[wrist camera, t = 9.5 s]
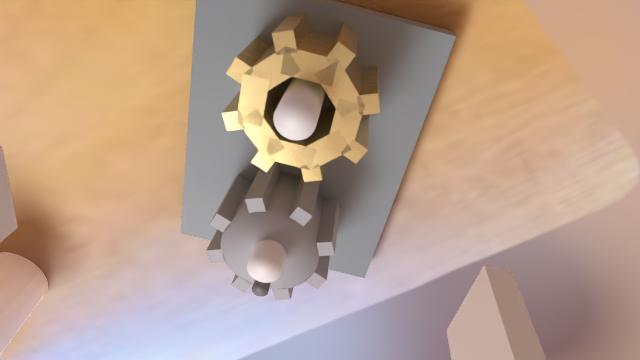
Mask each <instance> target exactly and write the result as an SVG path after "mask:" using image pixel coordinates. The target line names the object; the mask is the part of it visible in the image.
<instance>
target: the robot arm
mask: <svg viewBox="0 0 640 360" xmlns="http://www.w3.org/2000/svg"><path fill="white" fill-rule="evenodd" d="M17 228H18V225H17V220H16V215H15V210H14V204H13V199H12V194H11V189H10V184H9V179H8V174H7V169H6V164H5V159H4V154H3V149H2V147H1V146H0V243H1V242H2V241H3V240H4V239H5V238H6V237H8V236H9V235H10V234H11V233H12V232H13V231H15V230H16V229H17ZM447 336H448V342H449V347H450V353H451V358H452V360H546V358H545V355H544V353H543V350H542V348H541V345H540V342H539V340H538V337H537V335H536V332H535V330H534V327H533V324H532V322H531V319H530V317H529V314H528V312H527V309H526V306H525V304H524V301H523V299H522V296H521V294H520V291H519V289H518V286H517V284H516V281H515V278H514V276H513V273H512V272H511V271H508V270H504V269H500V268H496V267H492V266H487V265H484V266H483V268H482V270H481V272H480V273H479V275H478V277H477V278H476V280H475V282H474V284H473V285H472V287H471V289H470V291H469V292H468V294H467V296H466V298H465V299H464V301H463V303H462V305H461V306H460V308H459V310H458V312H457V313H456V315H455V317H454V319H453V320H452V322H451V324H450V326H449V327H448V329H447Z"/></svg>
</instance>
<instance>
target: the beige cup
mask: <svg viewBox="0 0 640 360" xmlns="http://www.w3.org/2000/svg"><path fill="white" fill-rule="evenodd" d="M47 290H48V281H47V278H46V276H45V275H44V273H43V272H42V270H41V269H40V268H39V267H37V266H36V265H35V264H34V263H33V262H32V261H30V260H28V259H26V258H24V257H22V256H20V255H18V254H14V253H10V252H0V356H1V354H2V353H3V352H4V350H5V349H6V347H7V346H8V345H9V343H10V342H11V341H12V339H13V338H14V336H15V335H16V334H17V332H18V331H19V330H20V328H21V327H22V325H23V324H24V323H25V321H26V320H27V319H28V317H29V316H30V315H31V313H32V312H33V310H34V309H35V308H36V306H37V305H38V304H39V302H40V301H41V299H42V298H43V297H44V295H45V294H46V292H47Z"/></svg>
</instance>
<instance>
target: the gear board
mask: <svg viewBox="0 0 640 360" xmlns="http://www.w3.org/2000/svg"><path fill="white" fill-rule="evenodd" d="M304 12H307V16H308V21H309V27H310V29H313V30H317V31H321V32H325V33H328V34H332V35H335V34H336V33H337V31H338V30H339V29H340V27H341V26H342V24H343V23H344V22H345V23H346V24H348V25H349V26H350V27H352V28H353V29H354V30H355V31H357V32H358V33H359V38H358V45H357V52H356V56H355V57H356V59H357V60H358V62H359V64H360V65H361V67H362V68H367V67H375V66H377V67H378V76H379V92H380V113H377V114H368V116H369V139H368V151H367V152H366V153H365V154H364V155H363V157H362V158H361V159H360V160H359V161H358V162H357V163H354V162H353V161H351V160H350V159H348V158H347V157H345V156H344V155H341V156H339V157H337V158H335V159H333V160H331V161H329V162H327V163H326V165H325V170H324V174H323V179H322V180H320V181H309V182H304V180H303V175H302V170H301V168H299V167H295V166H291V165H287V164H283V163H279V162H274V164H273V165H272V166H271V168H270V169H269V170H268V171H267V172H265V171H264V170H262V169H260V168H259V167H257V166H256V165H254V164H253V163H251V161H252V159H253V157H254V155H255V153H256V151H257V147H256V146H255V145H254V143H253V142H252V141H251V139H250V138H249V137H248V135H247V134H246V133H245V131H244V130H243V129H241V130H233V131H227V129H226V126H225V123H224V119H223V116H222V112H223V111H224V109H225V108H226V107H227V106H228V104H229V103H230V102H231V101H232V99H233V98H234V97H235V96H236V95H237V93H238V92H239V91H240V90H241V84H240V83H239V82H237V81H236V80H234V79H233V78H231V77H230V76H229V75H227V74H226V73H227V71H228V69H229V68H230V66H231V64H232V63H233V61H234V59H235V58H236V56H237V55H238V54H240V53H241V52H242V51H243V50H244V49H245V48H246V47H247V46H248V45H249V44H250V43H251V42H252V41H253V40H254V39H255V38H256V37H257V36H258V35H259V36H260V37H261V38H263V39H264V40H265V41H267V42H268V43H270V44H271V45H272V44H273V43H274V42H273V37H272V32H273V31H274V30H275V29H276V28H277V27H278V26H279V25H280V24H281V23H282V22H283V21H284V20H285V19H286V17H287V16H288V15H292V14H298V13H304ZM456 37H457V36H456V35H455V34H454V32H453V31H452V30H448V29H444V28H441V27H437V26H433V25H429V24H425V23H421V22H417V21H413V20H410V19H406V18H402V17H398V16H394V15H390V14H386V13H382V12H379V11H375V10H371V9H367V8H363V7H359V6H355V5H352V4H348V3H344V2H340V1H336V0H196V11H195V26H194V42H193V57H192V72H191V87H190V102H189V118H188V133H187V148H186V163H185V179H184V194H183V209H182V224H181V233H183V234H187V235H191V236H195V237H199V238H203V239H208V240H212V241H211V243H210V245H209V246H208V248H207V253H208V256H209V258H210V261H211V263H217V262H226V264H227V265H228V266H229V268H230V269H231V270H232V271H233V272H234V273H235V274H236V275H235V277H234V280H233V282H232V285H233V286H234V287H236V288H238V289H240V290H241V291H243V292H245V291H246V290H247V289H248V288H249V287H250V286H251V285H252V284H253V287H252V292H253V293H254V294H255V295H257V296H265V295H267V294H268V291H269V289H273V293H274V296H275V299H276V300H284V299H291V295H292V291H293V287H295V286H298V285H300V284H302V283H303V282H307V283H309V284H310V285H312V286H314V287H315V288H317V289H318V288H319V287H320V286H321V285H322V284H323V283H324V282H325V281H326V280H327V274H328V269H330V270H334V271H338V272H342V273H346V274H350V275H354V276H358V277H362V278H365V275H366V273H367V270H368V267H369V265H370V262H371V260H372V257H373V254H374V252H375V249H376V246H377V244H378V241H379V239H380V236H381V233H382V231H383V228H384V225H385V223H386V220H387V218H388V215H389V212H390V210H391V207H392V205H393V202H394V199H395V197H396V194H397V191H398V189H399V186H400V184H401V181H402V178H403V176H404V173H405V170H406V168H407V165H408V163H409V160H410V157H411V155H412V152H413V150H414V147H415V144H416V142H417V139H418V136H419V134H420V131H421V129H422V126H423V123H424V121H425V118H426V115H427V113H428V110H429V108H430V105H431V102H432V100H433V97H434V94H435V92H436V89H437V87H438V84H439V81H440V79H441V76H442V74H443V71H444V68H445V66H446V63H447V60H448V58H449V55H450V53H451V50H452V47H453V45H454V42H455V39H456ZM280 88H281V90H282V91H283V93H284V95H283V97H282V99H281V101H280V103H279V104H278V106H277V108H276V110H275V112H274V125H275V127H276V129H277V131H278V132H279V133H280V134H281V135H282V136H284V137H285V138H288V139H290V140H303V139H306V138H308V137H309V136H310V135H311V134H312V133H313V132H314V130H315V128H316V125H317V121H318V118H319V115H320V111H322V110H323V109H325V108H327V107H329V106H331V105H332V104H333V103H332V101H331V100H330V98H329V96H328V95H327V93H326V92H325V90H324V88H323V87H322V85H321V84H319V83H315V82H311V81H307V80H303V79H299V78H296V77H290V78H288V79H287V80H285V81H283V82H282V83H281V86H280Z"/></svg>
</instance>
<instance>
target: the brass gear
mask: <svg viewBox="0 0 640 360" xmlns="http://www.w3.org/2000/svg"><path fill="white" fill-rule="evenodd" d="M272 37H273V42H274V43H273V44H272V45H271V44H270V43H268V42H267V41H265V40H264V39H263V38H261V37H260V36H259V35H258V36H257V37H256V38H255V39H254V40H253V41H252V42H251V43H250V44H249V45H248V46H247V47H246V48H245V49H244V50H243V51H242V52H241V53H240V54H238V55H237V56H236V58H235V59H234V61H233V63H232V64H231V66H230V68H229V69H228V71H227V73H226V74H227V75H229V76H230V77H231V78H233V79H234V80H236V81H237V82H239V83H240V84H241V90H240V91H239V92H238V93H237V95H236V96H235V97H234V98H233V99H232V101H231V102H230V103H229V104H228V106H227V107H226V108H225V109H224V111H223V112H222V116H223V119H224V123H225V126H226V129H227V131H233V130H241V129H243V130H244V131H245V133H246V134H247V135H248V137H249V138H250V139H251V141H252V142H253V143H254V145H255V146H256V147H257V151H256V153H255V155H254V157H253V159H252V161H251V163H253V164H254V165H256V166H257V167H259V168H260V169H262V170H264V171H265V172H267V171H268V170H269V169H270V168H271V166H272V165H273V164H274V162H279V163H283V164H287V165H291V166H295V167H299V168H301V170H302V175H303V180H304V182H309V181H320V180H322V179H323V174H324V170H325V165H326V163H327V162H329V161H331V160H333V159H335V158H337V157H339V156H341V155H344V156H345V157H347V158H348V159H350V160H351V161H353V162H354V163H357V162H358V161H359V160H360V159H361V158H362V157H363V155H364V154H365V153H366V152H367V151H368V139H369V116H368V114H377V113H380V92H379V76H378V67H377V66H375V67H367V68H362V67H361V65H360V64H359V62H358V60H357V59H356V57H355V56H356V52H357V45H358V38H359V33H358V32H357V31H355V30H354V29H353V28H352V27H350V26H349V25H348V24H346V23H345V22H344V23H343V24H342V26H341V27H340V29H339V30H338V31H337V33H336V34H335V35H332V34H328V33H325V32H321V31H317V30H313V29H310V27H309V21H308V16H307V12H304V13H298V14H292V15H288V16H287V17H286V19H285V20H284V21H283V22H282V23H281V24H280V25H279V26H278V27H277V28H276V29H275V30H274V31H273V32H272ZM290 77H296V78H299V79H303V80H307V81H311V82H315V83H319V84H321V85H322V87H323V88H324V90H325V92H326V93H327V95H328V96H329V98H330V100H331V101H332V103H333V104H332V105H331V106H329V107H327V108H325V109H323V110H322V111H320V115H319V118H318V121H317V125H316V128H315V130H314V132H313V133H312V134H311V135H310V136H309V137H308V138H306V139H303V140H290V139H288V138H285V137H284V136H282V135H281V134H280V133H279V132H278V131H277V129H276V127H275V125H274V112H275V110H276V108H277V106H278V104H279V103H280V101H281V99H282V97H283V95H284V93H283V91H282V90H281V88H280V86H281V83H282V82H283V81H285V80H287V79H288V78H290Z"/></svg>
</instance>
